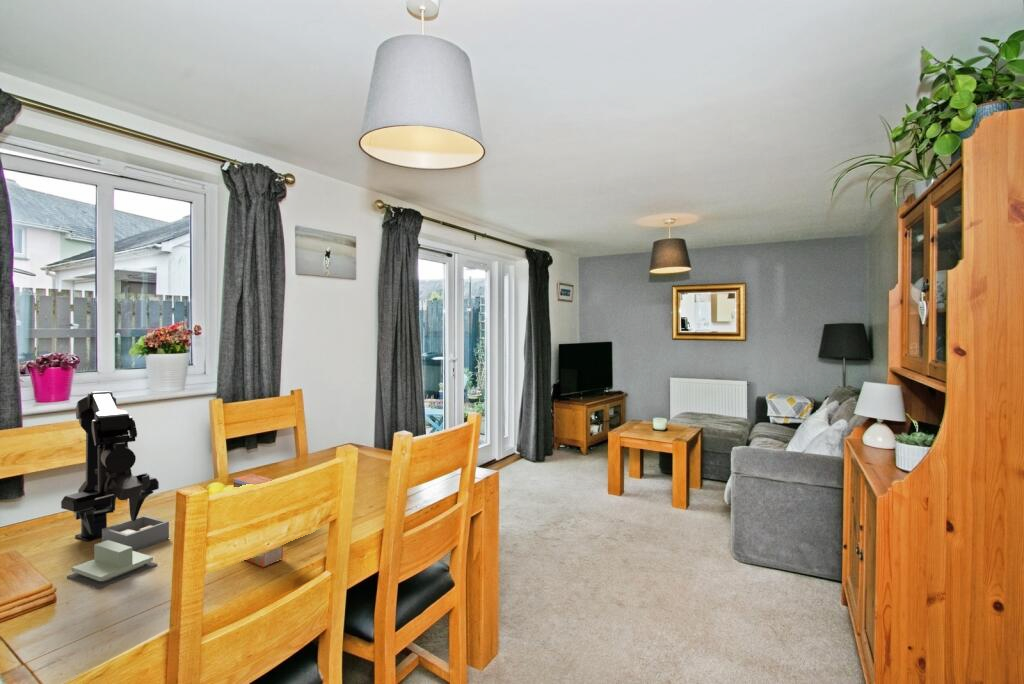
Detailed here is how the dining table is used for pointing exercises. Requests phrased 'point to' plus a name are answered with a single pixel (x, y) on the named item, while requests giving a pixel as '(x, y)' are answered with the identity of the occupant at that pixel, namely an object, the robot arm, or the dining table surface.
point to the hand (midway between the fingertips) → (113, 527)
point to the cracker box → (272, 554)
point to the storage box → (138, 532)
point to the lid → (111, 561)
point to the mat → (102, 584)
